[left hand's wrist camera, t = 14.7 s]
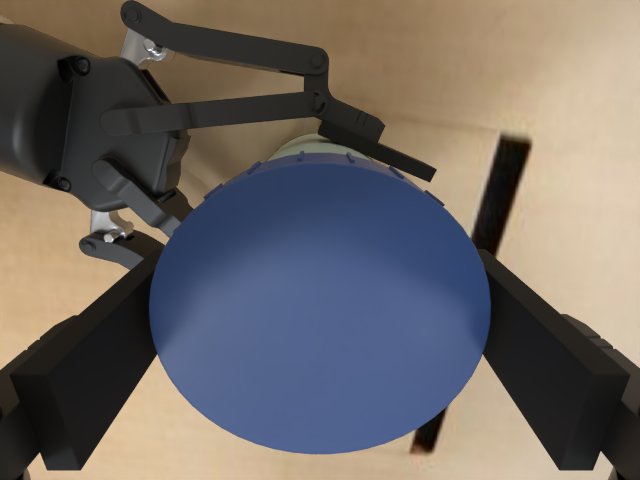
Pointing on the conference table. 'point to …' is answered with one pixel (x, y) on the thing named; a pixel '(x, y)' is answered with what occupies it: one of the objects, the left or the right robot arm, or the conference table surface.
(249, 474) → the conference table surface
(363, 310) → the lid
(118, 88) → the right robot arm
